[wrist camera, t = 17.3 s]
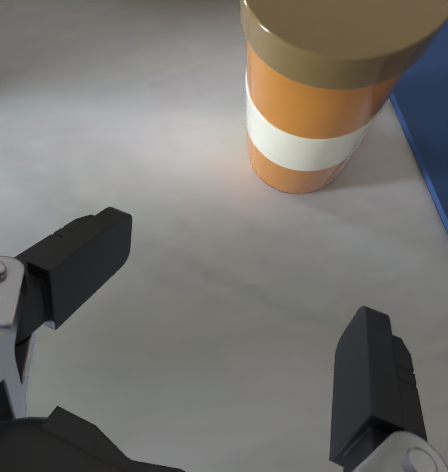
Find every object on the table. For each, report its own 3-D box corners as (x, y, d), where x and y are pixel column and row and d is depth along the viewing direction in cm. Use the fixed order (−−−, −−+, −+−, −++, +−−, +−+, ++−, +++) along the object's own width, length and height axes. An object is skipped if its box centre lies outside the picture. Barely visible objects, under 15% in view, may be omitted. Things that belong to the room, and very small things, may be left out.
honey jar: (258, 209, 18) (270, 84, 8) (232, 115, 19) (216, -85, 10) (366, 182, 18) (506, 24, 8) (331, 90, 19) (416, -138, 10)
